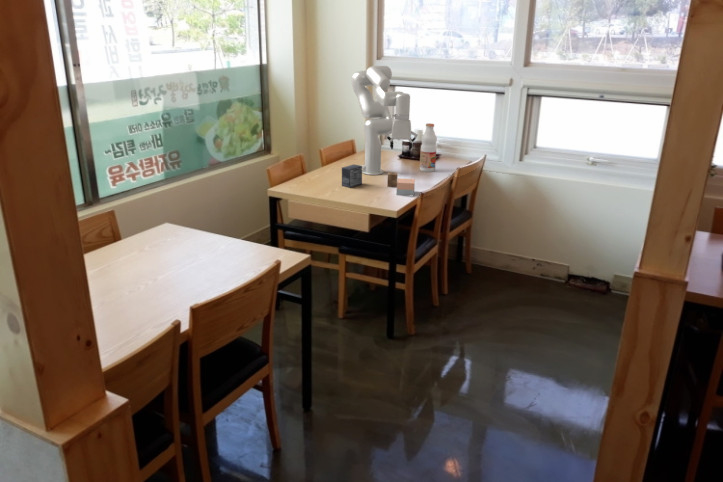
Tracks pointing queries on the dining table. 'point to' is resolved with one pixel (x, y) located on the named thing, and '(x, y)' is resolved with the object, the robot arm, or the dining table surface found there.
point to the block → (392, 179)
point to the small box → (351, 176)
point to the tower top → (405, 184)
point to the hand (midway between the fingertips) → (400, 149)
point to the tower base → (405, 192)
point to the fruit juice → (428, 150)
